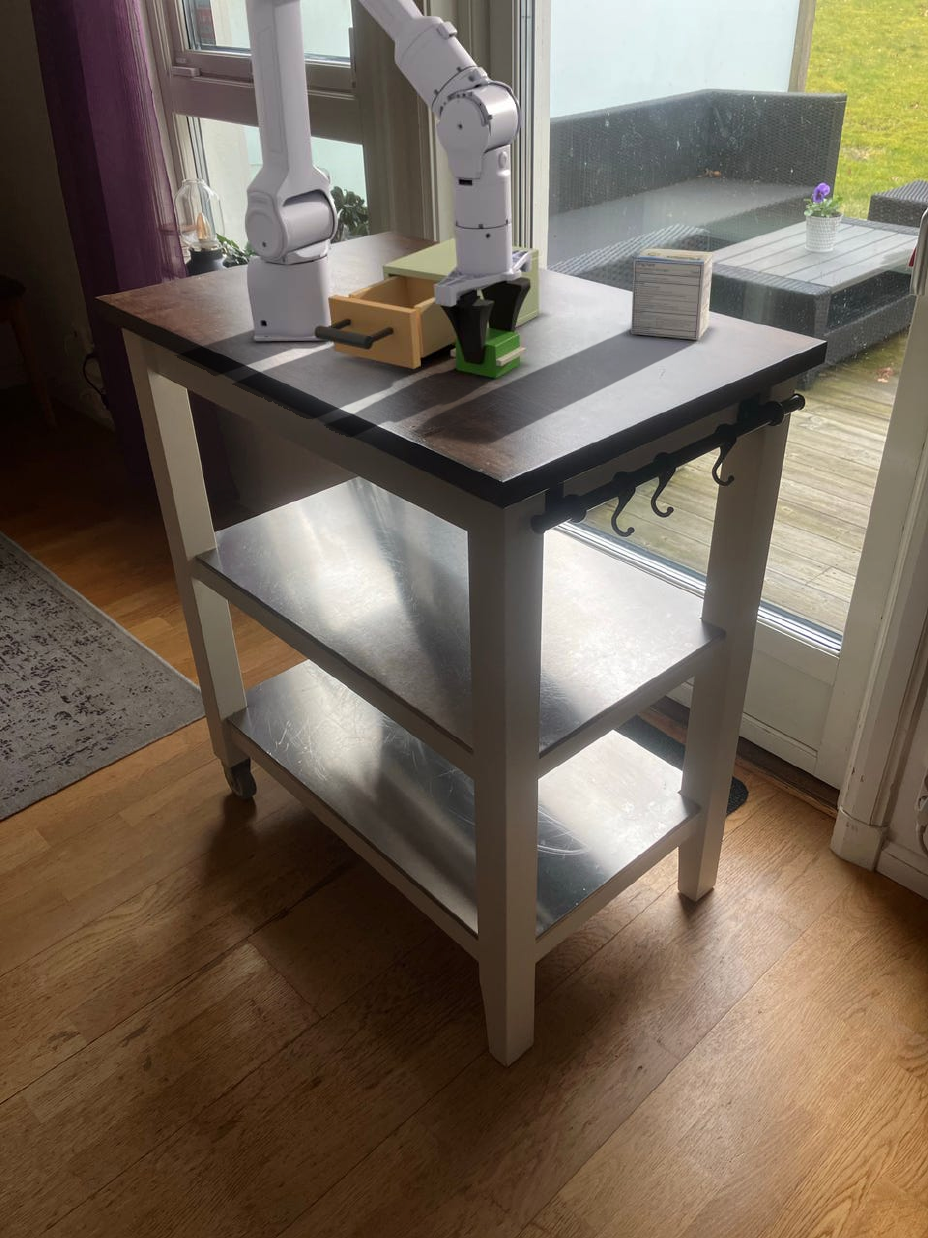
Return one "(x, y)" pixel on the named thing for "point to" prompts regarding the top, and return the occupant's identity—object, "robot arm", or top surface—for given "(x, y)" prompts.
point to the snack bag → (493, 354)
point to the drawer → (389, 322)
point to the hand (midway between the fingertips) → (487, 354)
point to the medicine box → (671, 293)
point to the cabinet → (443, 260)
